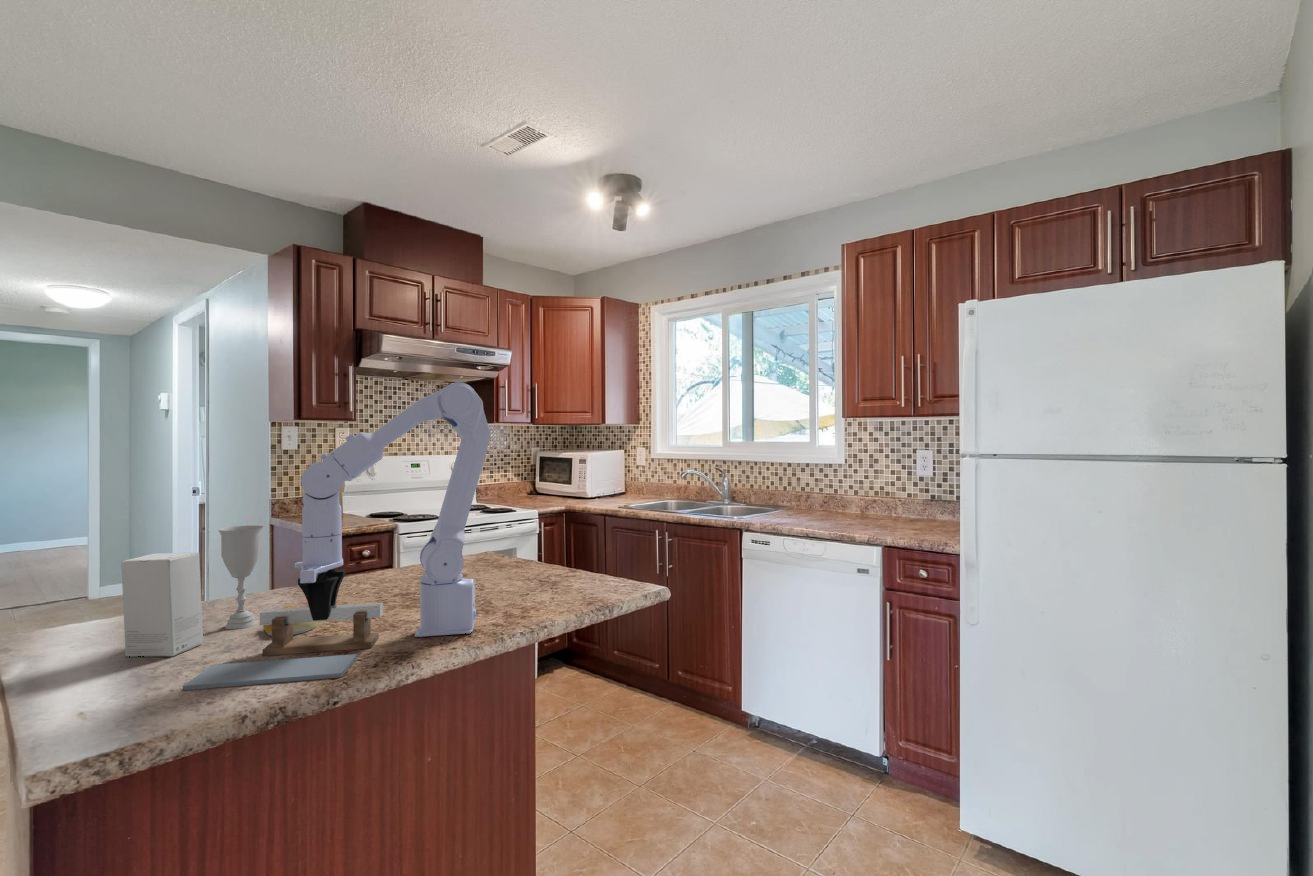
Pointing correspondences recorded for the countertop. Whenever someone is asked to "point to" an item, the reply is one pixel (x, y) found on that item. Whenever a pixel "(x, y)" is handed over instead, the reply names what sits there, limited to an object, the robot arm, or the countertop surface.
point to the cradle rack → (319, 638)
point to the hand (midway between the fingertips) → (323, 617)
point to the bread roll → (294, 626)
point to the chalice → (240, 566)
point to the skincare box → (162, 604)
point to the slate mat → (271, 671)
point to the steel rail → (335, 614)
